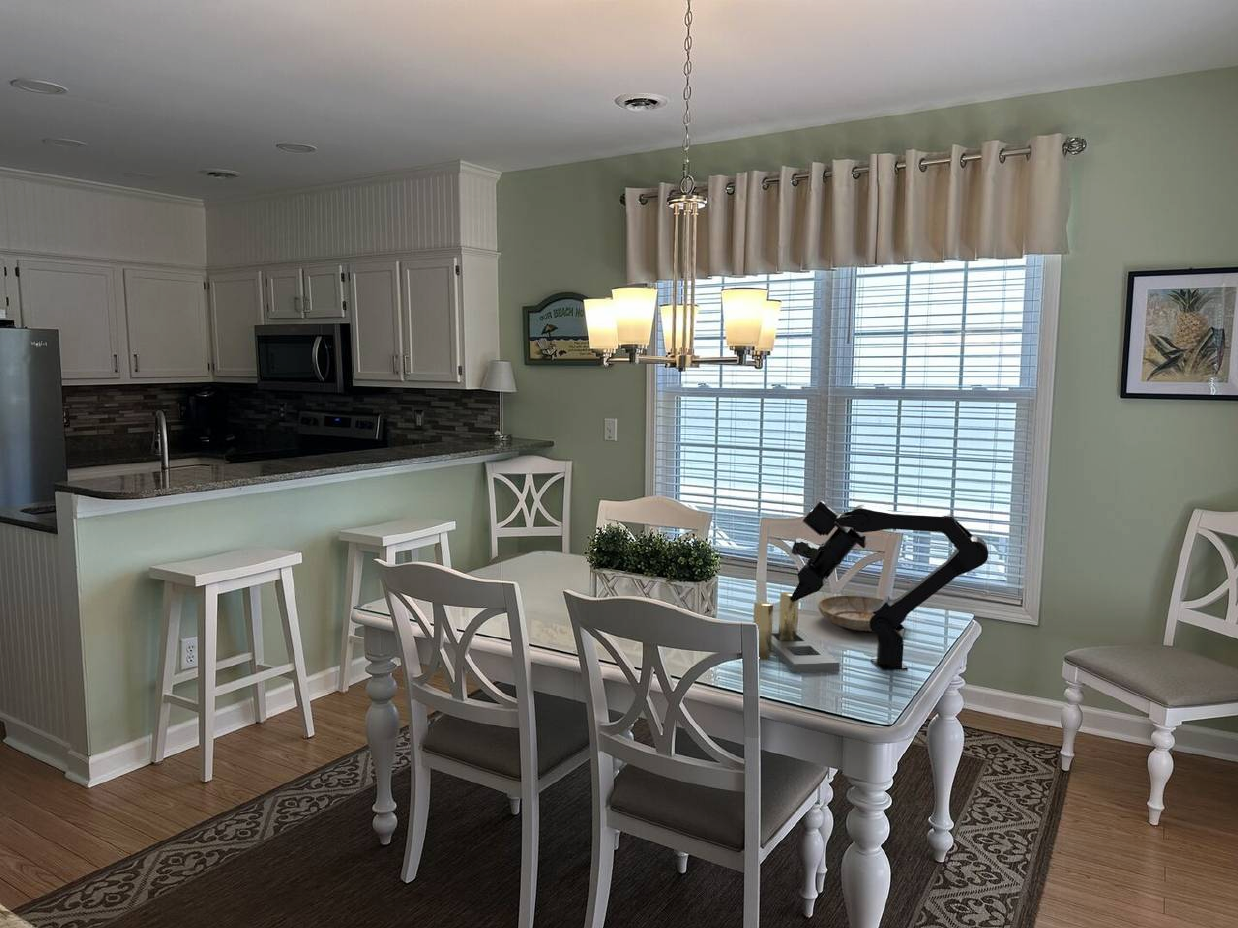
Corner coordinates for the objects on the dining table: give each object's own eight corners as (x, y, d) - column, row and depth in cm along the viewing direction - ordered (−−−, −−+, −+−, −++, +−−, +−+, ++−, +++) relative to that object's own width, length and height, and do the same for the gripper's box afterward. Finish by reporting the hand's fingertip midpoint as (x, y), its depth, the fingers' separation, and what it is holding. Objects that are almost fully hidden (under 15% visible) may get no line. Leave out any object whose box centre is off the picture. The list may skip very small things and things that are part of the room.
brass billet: (773, 659, 204) (776, 606, 202) (755, 660, 203) (758, 607, 201) (766, 653, 208) (769, 601, 206) (749, 653, 207) (751, 601, 206)
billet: (798, 647, 213) (801, 596, 211) (781, 648, 212) (784, 597, 210) (792, 641, 217) (794, 591, 215) (775, 642, 216) (777, 592, 215)
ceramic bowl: (799, 617, 238) (800, 600, 238) (863, 608, 249) (864, 591, 249) (858, 643, 218) (859, 624, 217) (924, 631, 229) (926, 613, 228)
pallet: (839, 670, 197) (839, 662, 197) (794, 672, 195) (794, 664, 195) (799, 637, 221) (799, 629, 221) (758, 638, 219) (759, 630, 219)
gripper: (815, 520, 214) (777, 565, 219) (802, 533, 197) (761, 582, 202) (851, 549, 211) (811, 594, 216) (840, 565, 194) (798, 614, 199)
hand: (795, 595), depth 209 cm, fingers open, 9 cm apart
